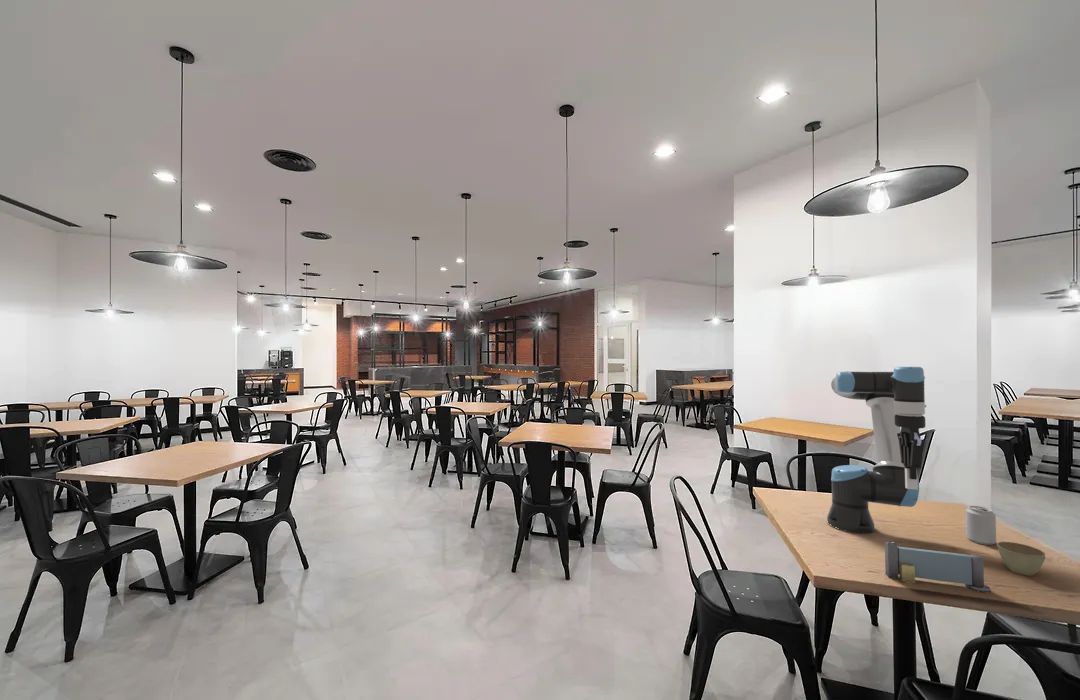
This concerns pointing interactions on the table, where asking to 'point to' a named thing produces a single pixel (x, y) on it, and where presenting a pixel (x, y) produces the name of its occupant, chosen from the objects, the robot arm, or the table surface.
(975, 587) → the hinge flange
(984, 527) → the can
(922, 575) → the gate
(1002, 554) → the olive beige bowl
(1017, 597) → the table surface
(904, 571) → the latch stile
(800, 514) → the table surface
